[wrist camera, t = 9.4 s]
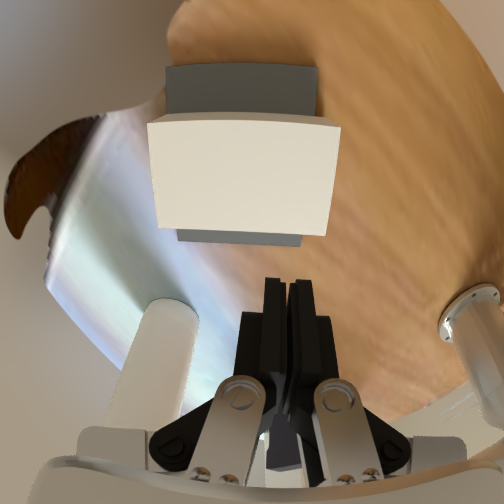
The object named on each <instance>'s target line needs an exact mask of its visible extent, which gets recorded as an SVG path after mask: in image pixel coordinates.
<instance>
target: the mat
mask: <svg viewBox="0 0 504 504" xmlns="http://www.w3.org/2000/svg"><path fill="white" fill-rule="evenodd" d="M317 80H318V68H317V67H309V66H299V65H287V64H271V63H206V64H190V65H178V66H169V67H166V100H167V114H175V113H194V112H259V113H279V114H293V115H305V116H315V109H316V95H317ZM177 237H178V241H187V242H209V243H230V244H251V245H271V246H291V247H300V246H301V239H302V234H285V233H266V232H245V231H222V230H198V229H177Z"/></svg>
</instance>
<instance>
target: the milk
mask: <svg viewBox="0 0 504 504" xmlns="http://www.w3.org/2000/svg"><path fill="white" fill-rule="evenodd" d="M264 441H265V480H266V481H265V482H266V488H306V487H305V481H304V475H303V469H302V468H300V469H295V470H289V471H283V472H277V471H272V470H268V469H266V452H267V450H268V448H269V432H266V433H264Z"/></svg>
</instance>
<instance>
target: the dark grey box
mask: <svg viewBox="0 0 504 504" xmlns="http://www.w3.org/2000/svg"><path fill="white" fill-rule="evenodd" d="M281 409H282V396H281V400H280V404H279V408H278V412H277V414H274V417H273V421H272V426H271V427H270V428H269V448H268V450H267V452H266V469H268V470H272V471H277V472H283V471H289V470H295V469H300V468H302V463H301V457H300V451H299V445H298V440H297V433H296V432H295V431H294V430H292V429H291V428H290V421H287V414H282V412H281Z"/></svg>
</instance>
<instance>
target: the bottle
mask: <svg viewBox="0 0 504 504" xmlns="http://www.w3.org/2000/svg"><path fill="white" fill-rule="evenodd" d="M199 324H200V320H199V318H198V316H197V314H196V313H195V312H194V311H193V310H192V309H191V308H190V307H189V306H187V305H186V304H184V303H182V302H180V301H177V300H173V299H163V298H161V299H157V300H154V301H152V302H151V303H150V304H149V305H148V307H147V309H146V311H145V312H144V314H143V316H142V319H141V322H140V325H139V328H138V331H137V333H136V335H135V338H134V340H133V343H132V345H131V348H130V351H129V353H128V356H127V358H126V361H125V364H124V366H123V369H122V372H121V374H120V377H119V380H118V383H117V385H116V388H115V391H114V394H113V397H112V400H111V402H110V406H109V409H108V411H107V414H106V418H105V421H104V424H103V427H110V428H126V429H145V430H146V431H158V430H159V429H161V428H163V427H164V426H166V425H168V424H170V423H172V422H173V421H175V420H177V419H179V417H180V412H181V408H182V403H183V398H184V393H185V389H186V384H187V379H188V375H189V370H190V366H191V361H192V357H193V352H194V348H195V344H196V342H197V339H198V331H199Z"/></svg>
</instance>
